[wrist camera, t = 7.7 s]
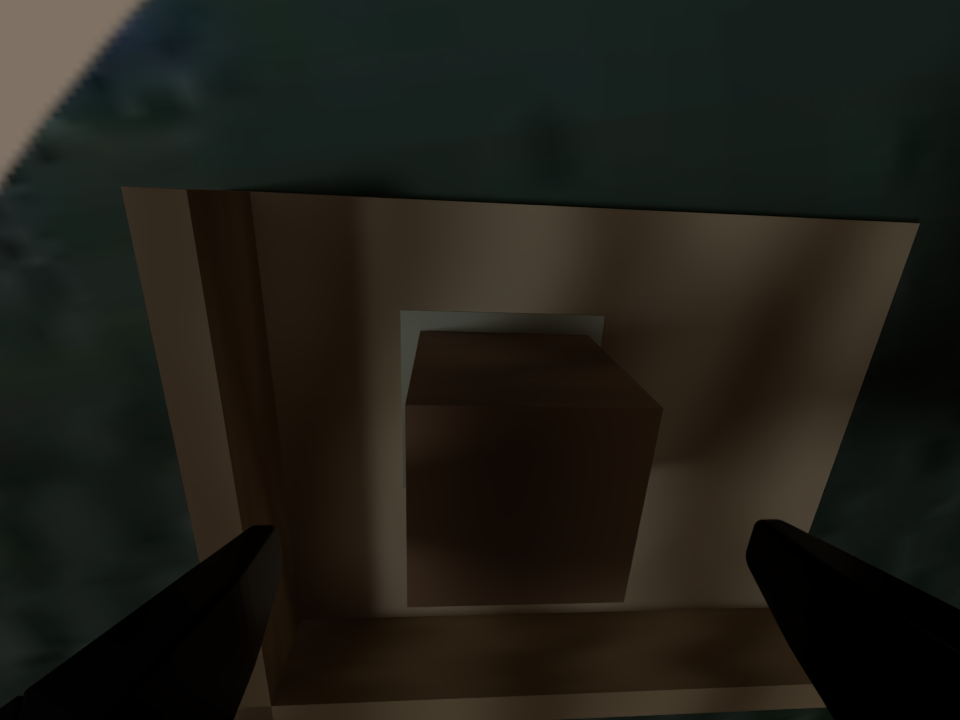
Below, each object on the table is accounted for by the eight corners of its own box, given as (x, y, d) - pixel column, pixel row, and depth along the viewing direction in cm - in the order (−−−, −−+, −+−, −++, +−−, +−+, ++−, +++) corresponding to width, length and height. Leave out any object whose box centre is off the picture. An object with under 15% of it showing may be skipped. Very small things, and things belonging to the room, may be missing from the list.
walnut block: (588, 335, 13) (663, 408, 9) (569, 476, 15) (623, 602, 10) (420, 330, 13) (404, 405, 8) (419, 477, 15) (407, 607, 10)
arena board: (888, 221, 14) (1049, 230, 10) (757, 608, 19) (832, 706, 16) (219, 190, 12) (121, 186, 9) (280, 620, 18) (235, 734, 14)
